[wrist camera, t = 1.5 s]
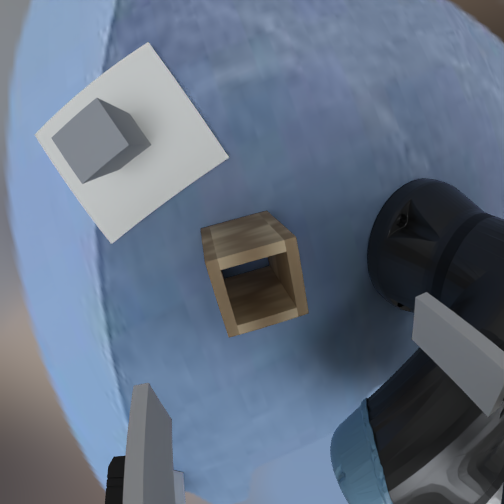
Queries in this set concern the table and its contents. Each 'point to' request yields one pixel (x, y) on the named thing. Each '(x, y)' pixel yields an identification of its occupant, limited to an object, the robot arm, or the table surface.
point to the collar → (254, 272)
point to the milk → (179, 487)
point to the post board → (155, 164)
